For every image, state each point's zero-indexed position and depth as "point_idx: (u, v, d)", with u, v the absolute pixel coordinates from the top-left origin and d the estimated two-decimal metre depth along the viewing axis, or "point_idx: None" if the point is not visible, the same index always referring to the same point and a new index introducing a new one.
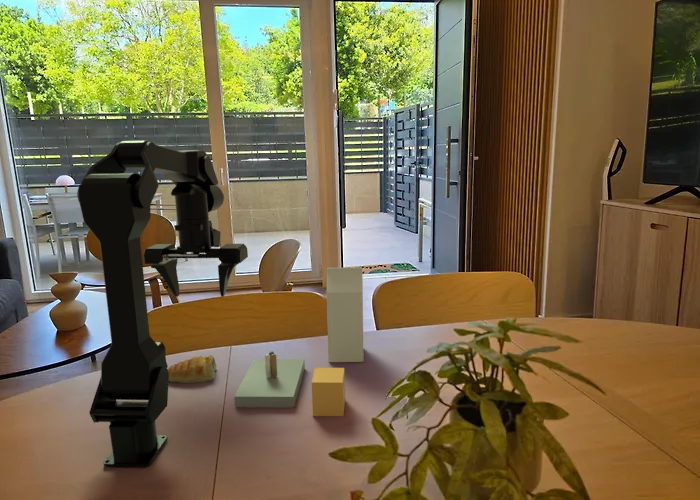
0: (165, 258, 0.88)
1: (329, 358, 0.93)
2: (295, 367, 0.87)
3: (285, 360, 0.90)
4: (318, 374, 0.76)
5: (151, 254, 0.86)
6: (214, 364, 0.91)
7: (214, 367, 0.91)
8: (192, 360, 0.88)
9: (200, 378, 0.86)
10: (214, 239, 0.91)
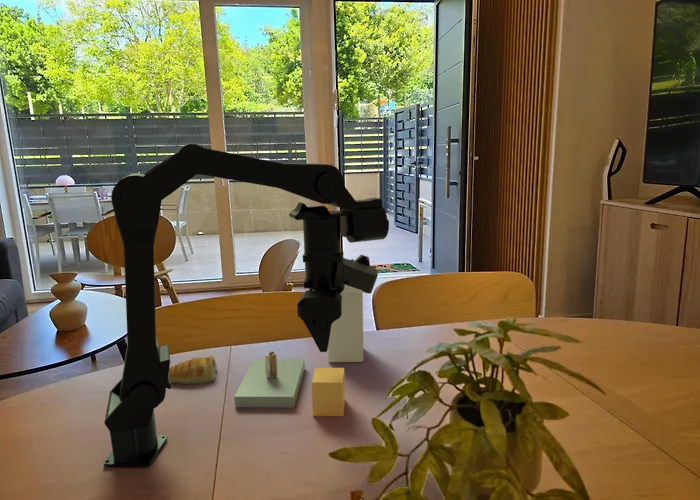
0: None
1: (329, 358, 0.93)
2: (295, 367, 0.87)
3: (285, 360, 0.90)
4: (318, 374, 0.76)
5: None
6: (214, 365, 0.91)
7: (214, 368, 0.91)
8: (192, 361, 0.88)
9: (201, 379, 0.86)
10: (338, 280, 0.70)
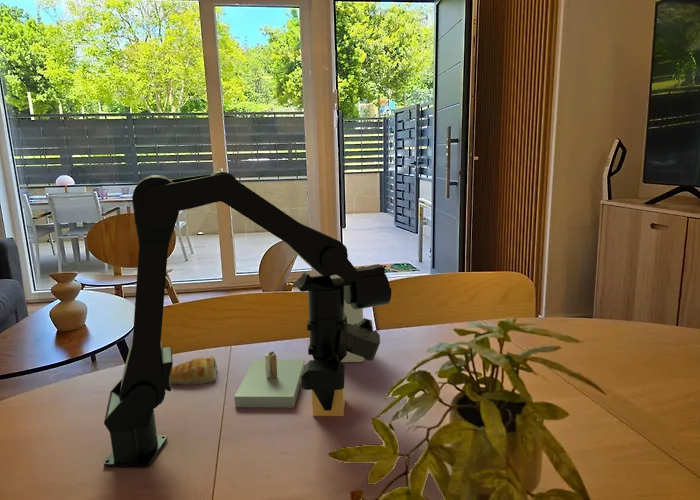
0: None
1: None
2: (295, 367, 0.87)
3: (285, 360, 0.90)
4: None
5: None
6: (215, 365, 0.91)
7: (215, 368, 0.90)
8: (193, 361, 0.88)
9: (202, 380, 0.86)
10: (341, 348, 0.72)
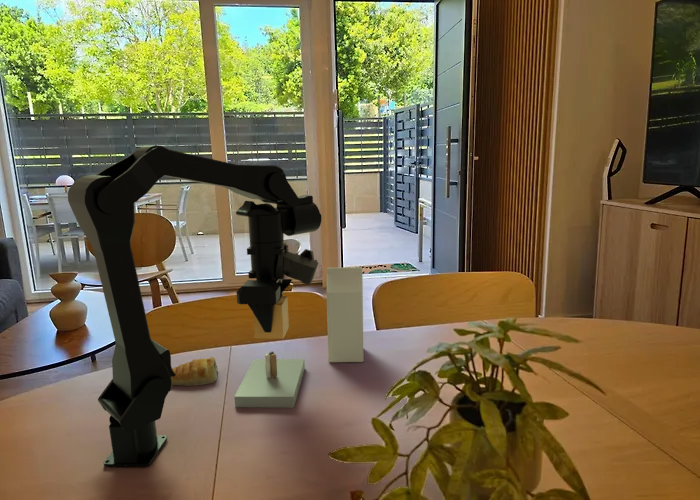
0: None
1: (329, 358, 0.93)
2: (295, 367, 0.87)
3: (285, 360, 0.90)
4: None
5: None
6: (215, 366, 0.90)
7: (215, 369, 0.90)
8: (193, 362, 0.87)
9: (203, 380, 0.85)
10: (279, 271, 0.76)
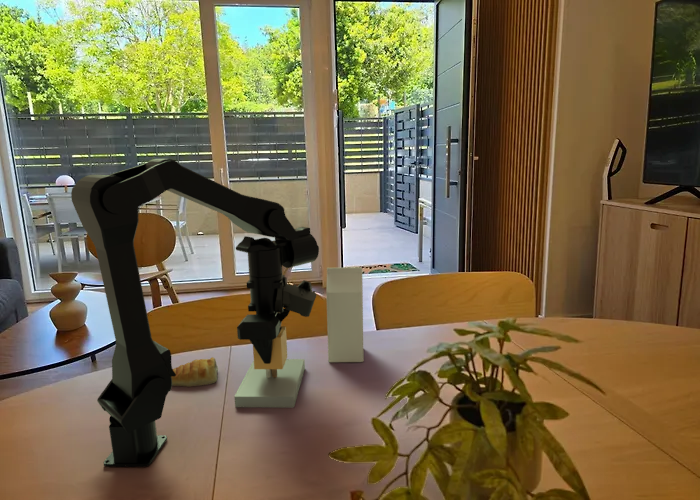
0: None
1: (329, 358, 0.93)
2: (295, 367, 0.87)
3: None
4: None
5: None
6: (215, 366, 0.90)
7: (216, 369, 0.90)
8: (194, 363, 0.87)
9: (203, 381, 0.85)
10: (278, 304, 0.78)
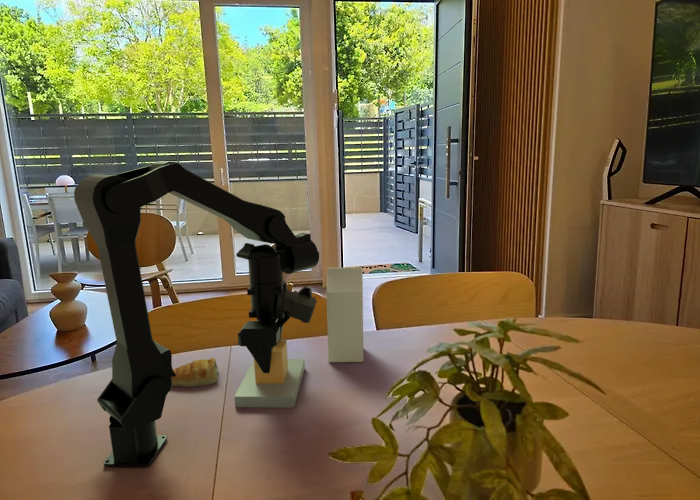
0: None
1: (329, 358, 0.93)
2: (295, 367, 0.87)
3: None
4: None
5: None
6: (216, 367, 0.90)
7: (216, 370, 0.90)
8: (194, 363, 0.87)
9: (204, 381, 0.85)
10: (279, 311, 0.78)
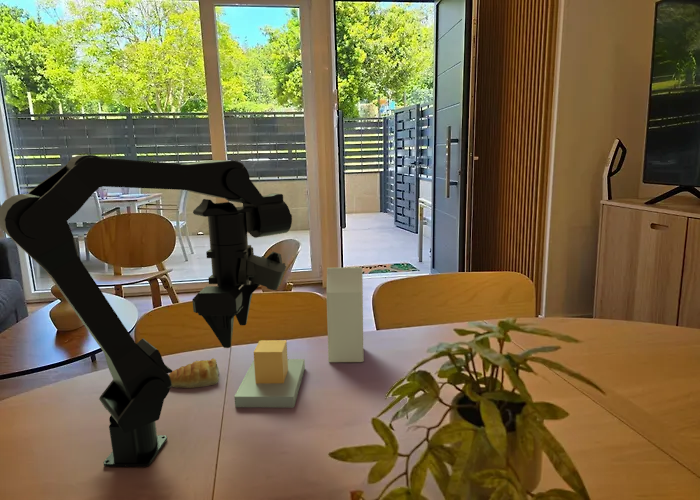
0: None
1: (329, 358, 0.93)
2: (295, 367, 0.87)
3: None
4: (261, 345, 0.83)
5: None
6: (216, 367, 0.90)
7: (217, 371, 0.89)
8: (195, 364, 0.86)
9: (205, 382, 0.85)
10: (242, 276, 0.70)
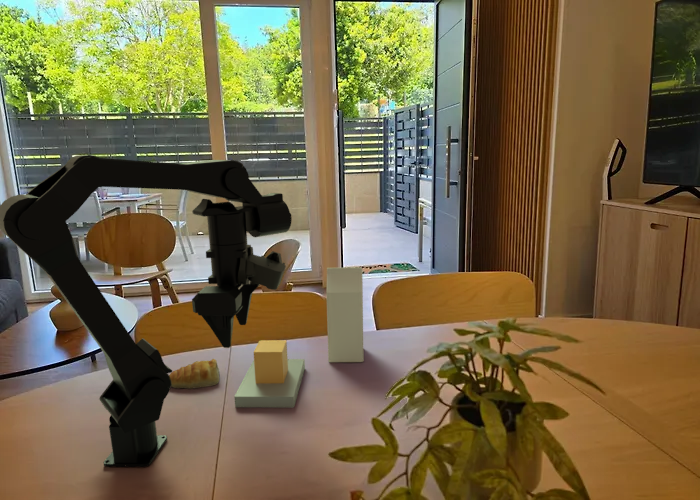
0: None
1: (329, 358, 0.93)
2: (295, 367, 0.87)
3: None
4: (261, 345, 0.83)
5: None
6: (217, 368, 0.90)
7: (217, 371, 0.89)
8: (195, 365, 0.86)
9: (205, 383, 0.85)
10: (241, 275, 0.70)
